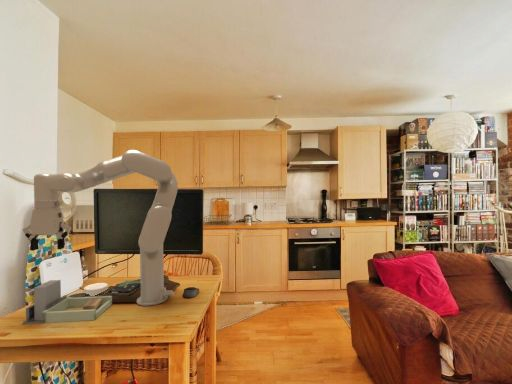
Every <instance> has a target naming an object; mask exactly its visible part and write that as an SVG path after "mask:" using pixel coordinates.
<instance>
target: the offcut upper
mask: <svg viewBox="0 0 512 384" xmlns="http://www.w3.org/2000/svg"><path fill="white" fill-rule="evenodd" d="M101 304H102V298H101V299H90V300H89V301H88V302H87V303H86V304H85V305H84V306H83V307H82V308H83V309H82V310H90V309H96V310H97V309H98V308H99V307H100V305H101Z"/></svg>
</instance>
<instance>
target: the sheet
mask: <svg viewBox="0 0 512 384" xmlns="http://www.w3.org/2000/svg"><path fill="white" fill-rule="evenodd" d="M61 281H62V280H61V279H52V280H51V279H50V280H48V281H45V282H44V283H41V284H39V285H37V286H35V287H33V300H34V301H33V304H34V319H33V320H43V311H44V307H46V306H48V305H49V304H51V303H53V302H55V301H56V300H58V299H60V298H61V297H62V293H61V292H62V289H61V287H62V285H61V284H62V283H61Z"/></svg>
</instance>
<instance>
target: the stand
mask: <svg viewBox="0 0 512 384" xmlns="http://www.w3.org/2000/svg"><path fill="white" fill-rule="evenodd" d="M67 297H68V296H67V295H63V296H61V298H60V299H58V300H56V301H55V302H53V303H51V304H49V305H48V306H46V307H44V311H45V310H48V309H50V308H51V307H53V306H55V305H56V304H58V303H60V302H61V301H63V300H64V299H66V298H67ZM21 323H22V325H34V324H35V325H36V324H37V325H39V324H45V321H43V320H34V303H33V304H31V305H30V306H27V307H26V308H25V320H24V321H22V322H21Z"/></svg>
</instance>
